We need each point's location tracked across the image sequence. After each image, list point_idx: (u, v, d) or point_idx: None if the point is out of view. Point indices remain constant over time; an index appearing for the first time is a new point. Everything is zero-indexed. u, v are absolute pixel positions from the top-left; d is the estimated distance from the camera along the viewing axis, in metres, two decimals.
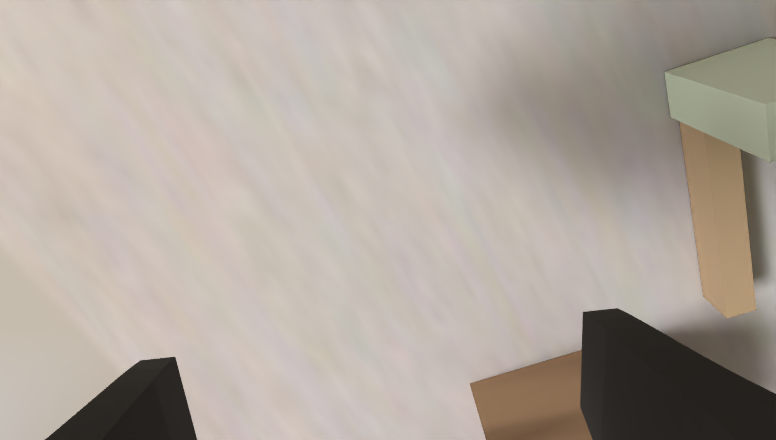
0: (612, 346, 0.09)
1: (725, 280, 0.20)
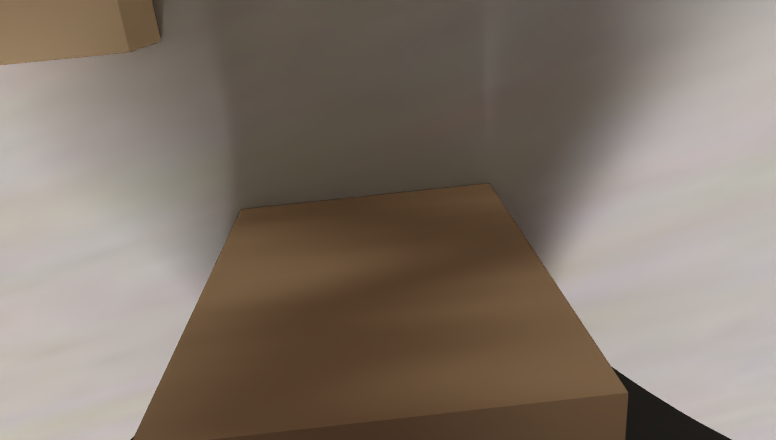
0: None
1: (21, 53, 0.08)
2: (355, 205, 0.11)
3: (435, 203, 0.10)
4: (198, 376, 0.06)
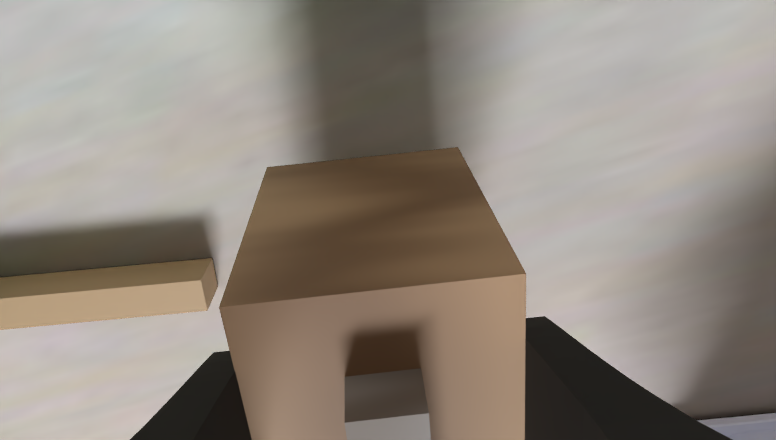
0: (530, 355, 0.09)
1: (156, 310, 0.18)
2: (355, 163, 0.14)
3: (415, 162, 0.14)
4: (255, 271, 0.10)
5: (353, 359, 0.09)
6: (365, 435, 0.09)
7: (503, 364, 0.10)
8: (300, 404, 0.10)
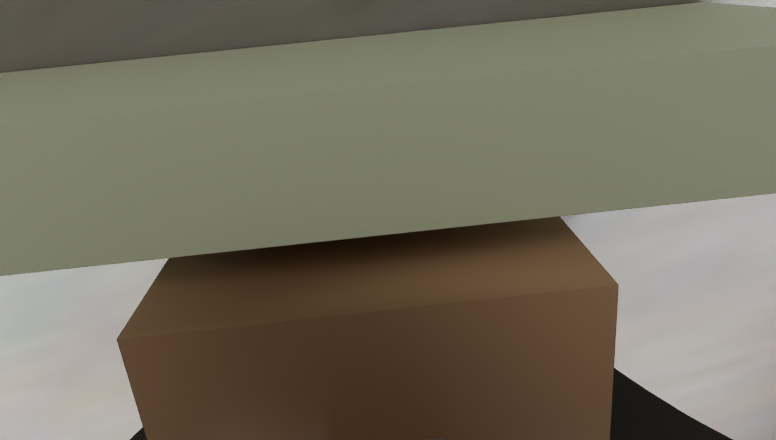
0: None
1: None
2: None
3: None
4: (188, 283, 0.06)
5: (338, 423, 0.06)
6: None
7: (575, 431, 0.06)
8: None
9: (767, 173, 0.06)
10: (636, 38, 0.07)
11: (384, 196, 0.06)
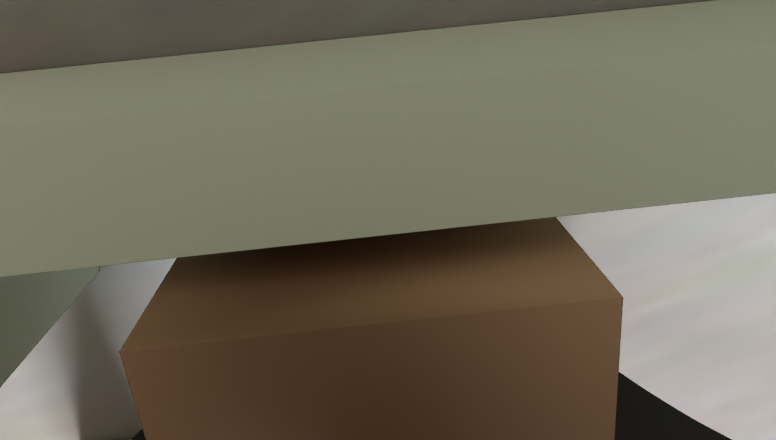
0: None
1: None
2: None
3: None
4: (190, 293, 0.06)
5: (341, 434, 0.06)
6: None
7: None
8: None
9: None
10: None
11: None
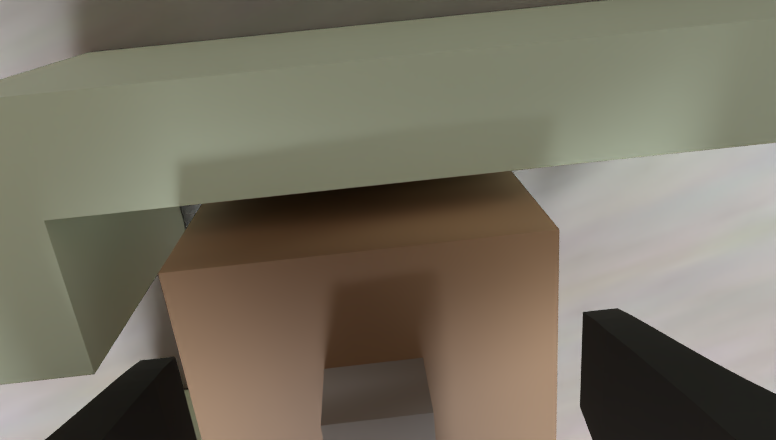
0: (612, 346, 0.09)
1: None
2: None
3: None
4: (211, 234, 0.08)
5: (334, 345, 0.07)
6: None
7: (529, 352, 0.07)
8: (267, 405, 0.08)
9: None
10: None
11: None
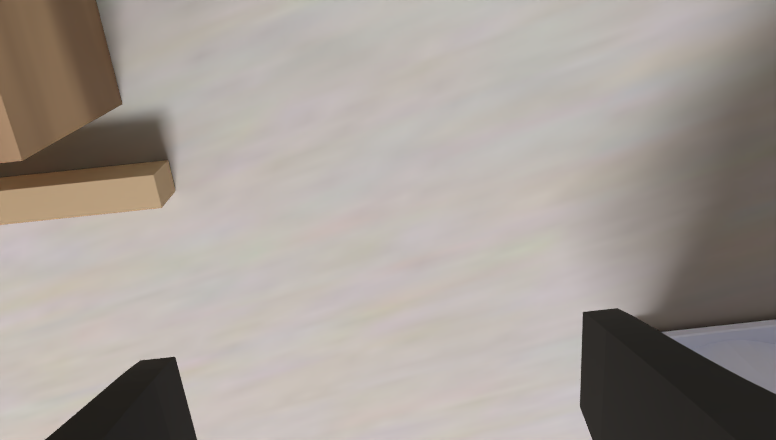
0: (612, 346, 0.09)
1: (109, 208, 0.18)
2: None
3: None
4: None
5: None
6: None
7: None
8: None
9: None
10: None
11: None
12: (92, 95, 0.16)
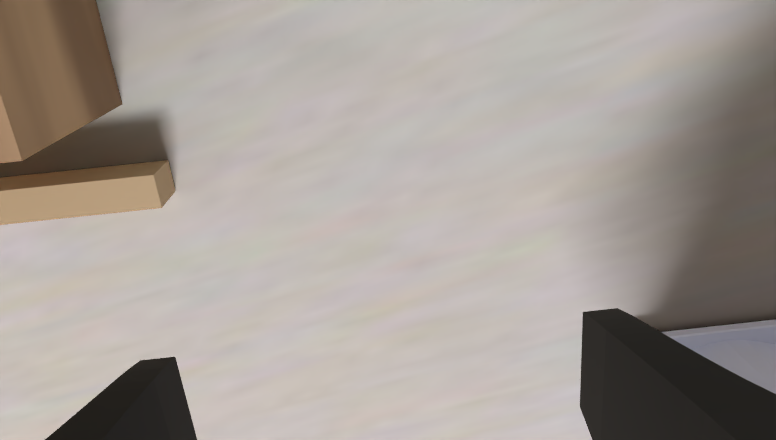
0: (612, 346, 0.09)
1: (109, 208, 0.18)
2: None
3: None
4: None
5: None
6: None
7: None
8: None
9: None
10: None
11: None
12: (92, 95, 0.16)
